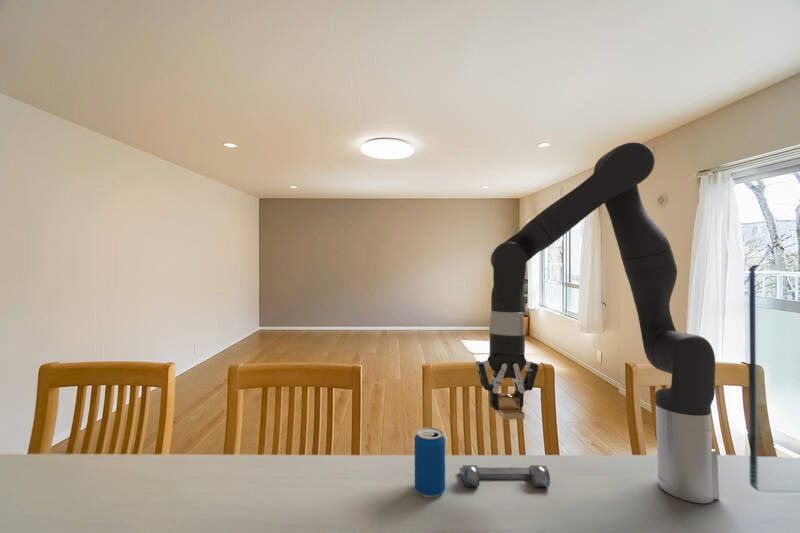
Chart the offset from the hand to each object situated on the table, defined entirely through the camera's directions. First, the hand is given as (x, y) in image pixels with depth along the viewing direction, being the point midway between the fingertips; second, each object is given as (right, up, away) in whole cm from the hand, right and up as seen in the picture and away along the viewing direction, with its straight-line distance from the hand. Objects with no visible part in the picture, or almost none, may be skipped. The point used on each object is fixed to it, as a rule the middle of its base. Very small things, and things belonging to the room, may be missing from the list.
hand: (506, 408), depth 78 cm
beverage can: (-17, -16, -4) cm, 24 cm away
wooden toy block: (0, -1, -1) cm, 1 cm away
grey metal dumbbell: (-1, -16, 0) cm, 16 cm away
